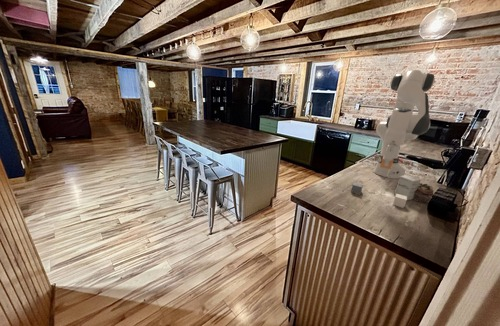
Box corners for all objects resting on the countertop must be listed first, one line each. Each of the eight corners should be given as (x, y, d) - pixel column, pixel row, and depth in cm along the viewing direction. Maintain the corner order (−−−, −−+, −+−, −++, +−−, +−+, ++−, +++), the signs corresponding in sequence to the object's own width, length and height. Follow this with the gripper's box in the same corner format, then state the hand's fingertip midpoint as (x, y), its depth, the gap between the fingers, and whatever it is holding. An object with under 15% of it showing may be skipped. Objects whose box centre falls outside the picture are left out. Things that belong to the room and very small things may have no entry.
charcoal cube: (361, 191, 125) (363, 184, 123) (359, 194, 121) (361, 187, 119) (352, 189, 128) (354, 182, 126) (350, 192, 124) (352, 184, 122)
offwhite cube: (404, 204, 113) (406, 196, 111) (403, 207, 109) (406, 199, 107) (393, 201, 116) (396, 193, 114) (392, 204, 112) (395, 196, 110)
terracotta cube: (391, 166, 112) (393, 158, 110) (390, 169, 108) (393, 160, 107) (380, 164, 115) (383, 156, 113) (379, 167, 111) (382, 158, 109)
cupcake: (434, 203, 116) (441, 187, 112) (421, 204, 114) (427, 188, 110) (418, 194, 124) (424, 180, 121) (405, 195, 122) (411, 181, 119)
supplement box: (393, 194, 123) (399, 175, 119) (401, 193, 126) (408, 174, 121) (406, 200, 117) (413, 181, 112) (414, 198, 119) (421, 179, 115)
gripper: (400, 144, 97) (392, 170, 101) (401, 137, 112) (394, 161, 117) (385, 141, 100) (377, 167, 105) (388, 135, 116) (381, 158, 120)
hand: (386, 164), depth 111 cm, fingers closed on terracotta cube, 5 cm apart
